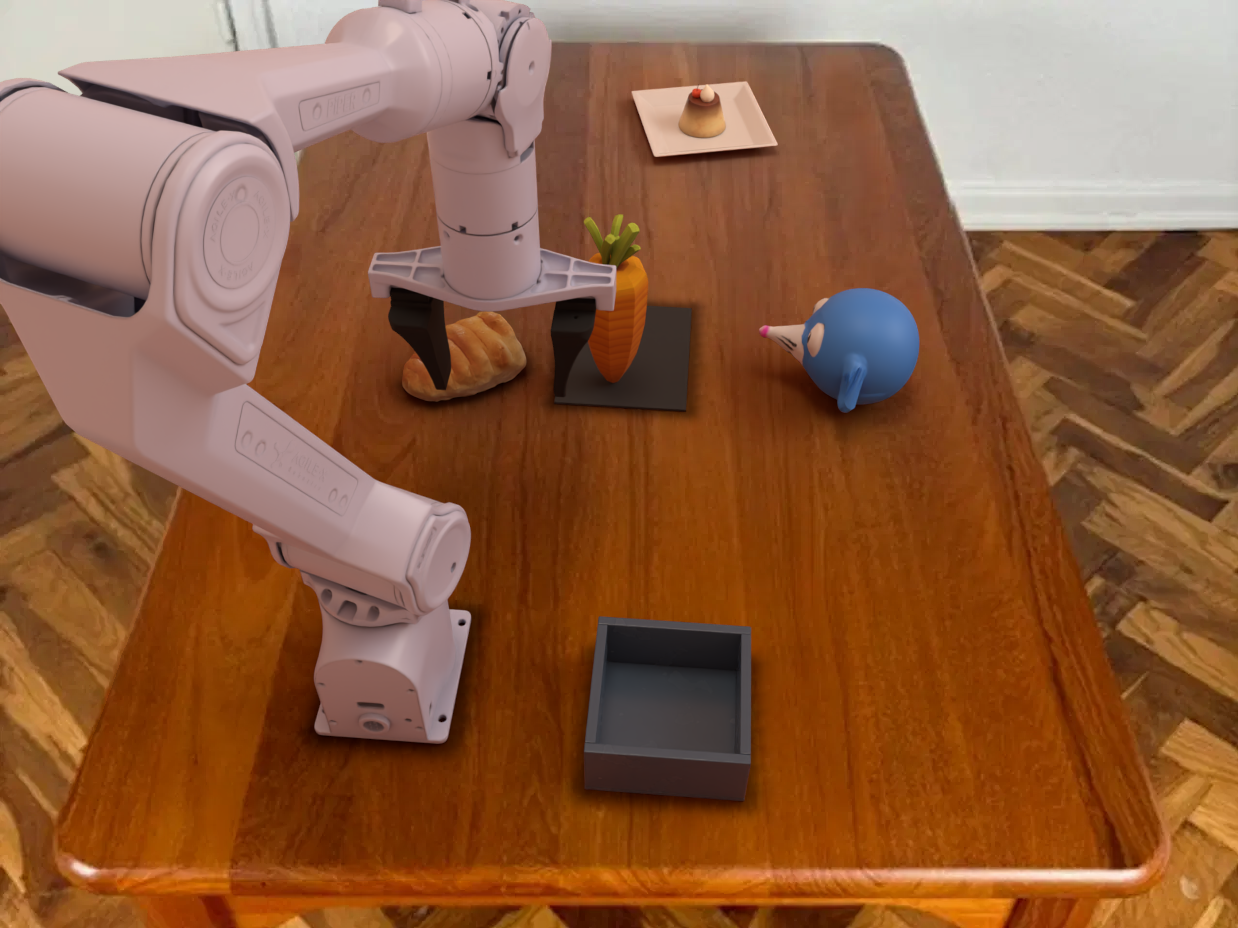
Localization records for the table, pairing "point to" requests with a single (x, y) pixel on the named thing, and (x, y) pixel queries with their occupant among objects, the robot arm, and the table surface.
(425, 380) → the pastry
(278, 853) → the table surface
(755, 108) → the dessert
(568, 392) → the mat
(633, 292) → the carrot
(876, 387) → the blue mole toy
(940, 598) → the table surface
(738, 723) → the bin
